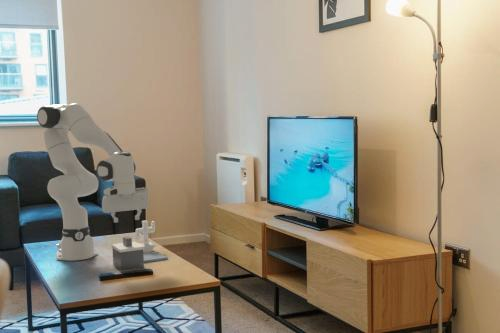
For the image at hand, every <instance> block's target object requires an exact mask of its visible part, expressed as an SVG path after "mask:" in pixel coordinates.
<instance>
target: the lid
mask: <svg viewBox="0 0 500 333" xmlns="http://www.w3.org/2000/svg"><path fill="white" fill-rule="evenodd" d="M132 239H133V238H132V237H130V236H129V235H128V236H127V235H126V236H122V242H118V243H113V244H111V248H112V249H113V248H114V249H115V250H117V251H118V252H128V251H135V250H143V249H144V246H142V245H140V244H138V243H139V242H137V241H133V240H132Z"/></svg>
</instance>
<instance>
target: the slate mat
mask: <svg viewBox="0 0 500 333" xmlns="http://www.w3.org/2000/svg"><path fill="white" fill-rule="evenodd" d="M143 256H144V264H145V263H153V262H160V261H167V260H169V257H168V256H166V255H164V254H163V253H161V252H158V251H152V252H148V253H143Z"/></svg>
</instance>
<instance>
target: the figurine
mask: <svg viewBox="0 0 500 333" xmlns="http://www.w3.org/2000/svg"><path fill="white" fill-rule="evenodd" d="M141 225H142V227H139V228H136V229H135V240H136V241H139V240H140V235H142V242H137V243H138V244H140V245H142V246H144V249H143V253H150V252H154V249H155V246H156V244H155V243H154V242H152V241H149V234H153V233H155V232H156V222H155V221H154V220H152V221H151V223H150V226H149V220H142V221H141Z"/></svg>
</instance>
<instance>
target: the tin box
mask: <svg viewBox="0 0 500 333" xmlns="http://www.w3.org/2000/svg"><path fill="white" fill-rule="evenodd" d="M112 262H113V263H112V264H113V266H114V267H115V268H117V269H118V270H119V271H122V270H124V271H130V270H134V269H135V270H136V269H143V268H145V263H144V256H143V250H135V251H128V252H118V251H117V250H115V249H114V248H112ZM129 269H130V270H129ZM122 272H123V271H122Z"/></svg>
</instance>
